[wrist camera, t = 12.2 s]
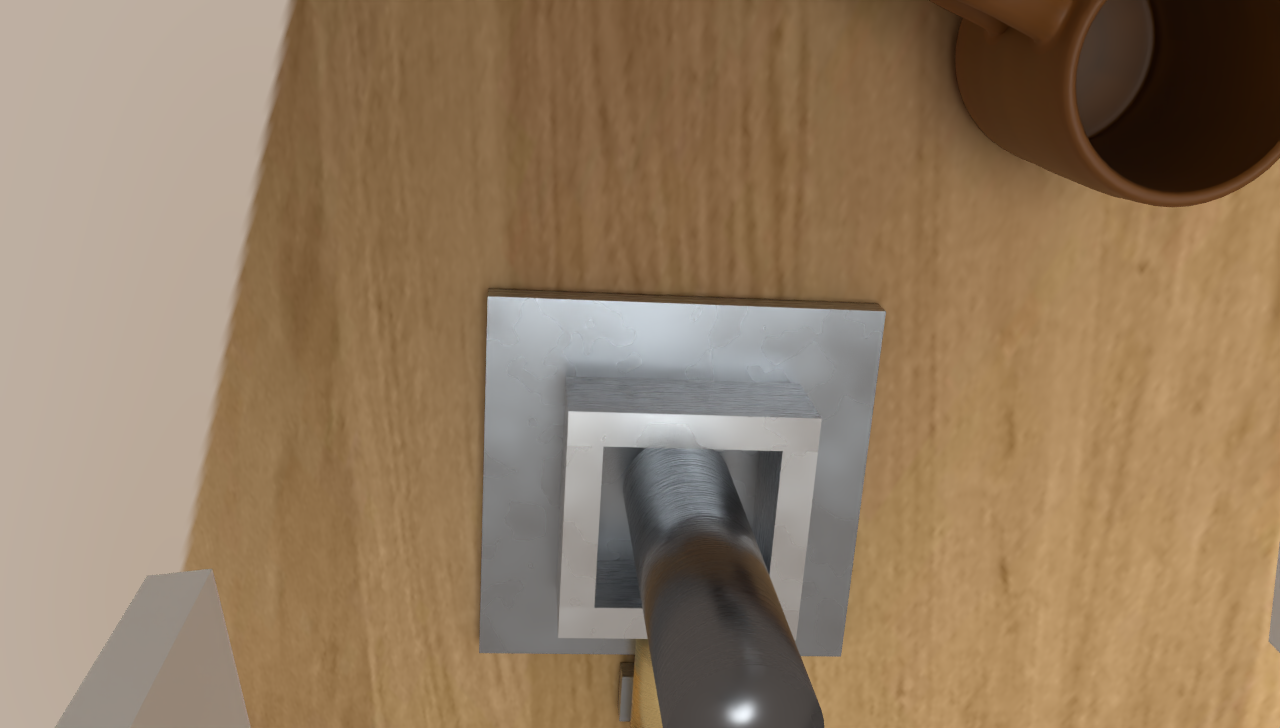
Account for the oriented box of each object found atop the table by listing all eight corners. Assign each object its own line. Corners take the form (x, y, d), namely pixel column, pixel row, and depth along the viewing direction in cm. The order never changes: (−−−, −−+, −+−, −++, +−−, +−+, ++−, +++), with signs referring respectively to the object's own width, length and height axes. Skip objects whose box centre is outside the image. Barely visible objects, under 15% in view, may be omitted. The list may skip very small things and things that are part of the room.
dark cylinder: (602, 504, 44) (634, 759, 30) (663, 418, 44) (726, 639, 29) (691, 555, 45) (763, 826, 31) (752, 472, 45) (855, 711, 30)
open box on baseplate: (488, 288, 43) (483, 325, 38) (878, 303, 44) (915, 341, 40) (478, 716, 48) (473, 790, 44) (825, 718, 49) (852, 789, 45)
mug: (795, 57, 41) (867, 85, 32) (897, -168, 39) (1004, -204, 30) (1094, 193, 43) (1238, 254, 34) (1204, -12, 41) (1388, -3, 32)
